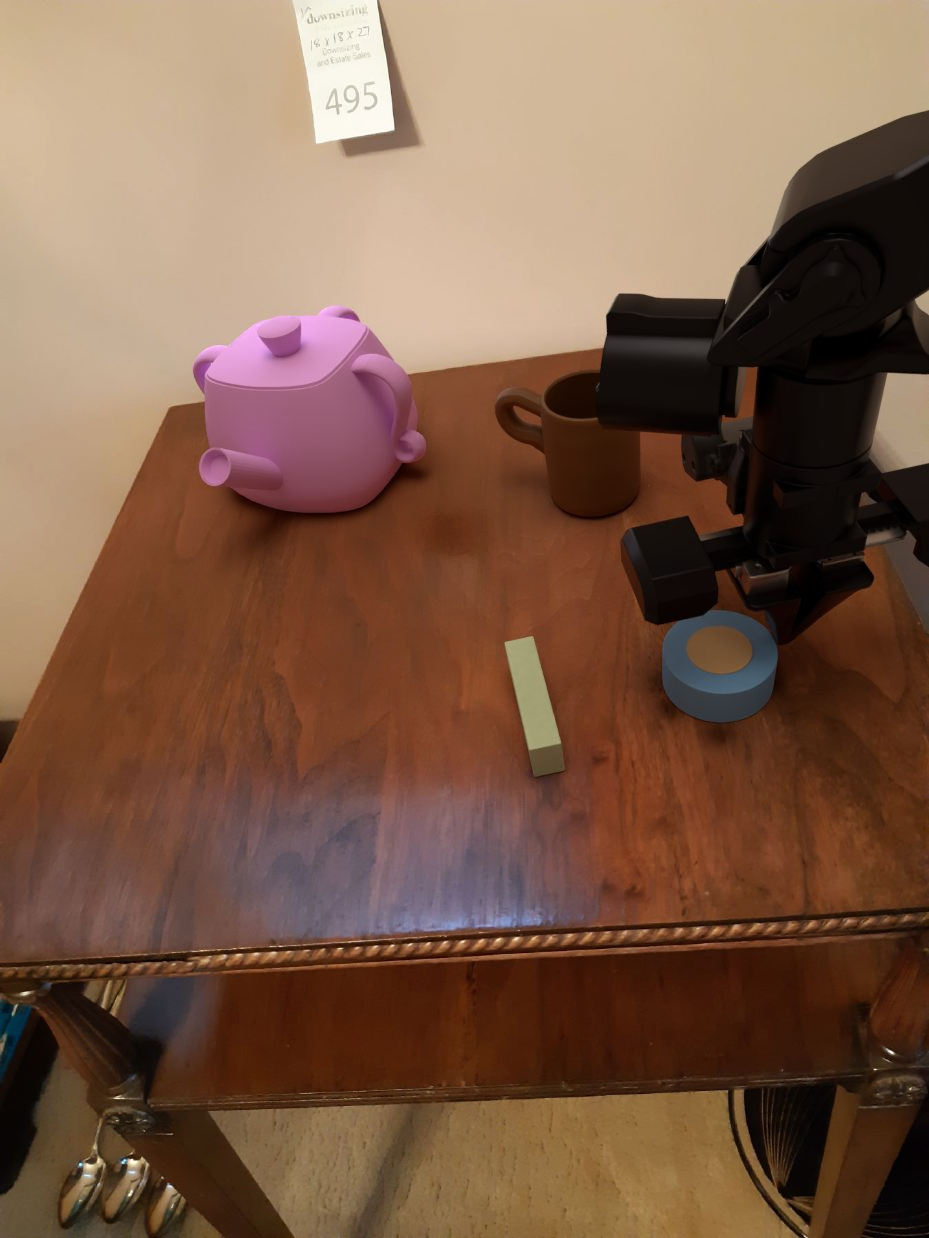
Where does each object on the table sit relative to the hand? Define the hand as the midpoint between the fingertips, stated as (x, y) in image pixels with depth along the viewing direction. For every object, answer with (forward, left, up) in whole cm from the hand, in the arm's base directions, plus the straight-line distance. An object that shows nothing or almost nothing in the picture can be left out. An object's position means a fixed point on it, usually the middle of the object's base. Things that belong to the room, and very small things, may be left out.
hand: (780, 639), depth 53 cm
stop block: (+16, 0, -3) cm, 16 cm away
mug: (+9, -23, -3) cm, 25 cm away
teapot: (+31, -33, -3) cm, 45 cm away
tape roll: (+4, 0, -3) cm, 5 cm away
